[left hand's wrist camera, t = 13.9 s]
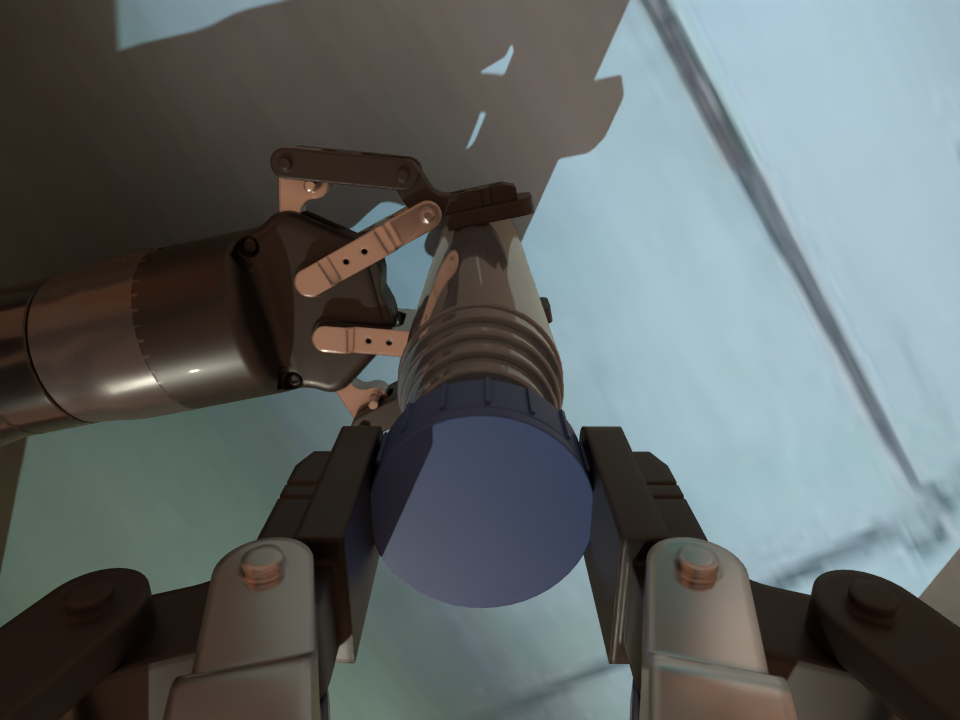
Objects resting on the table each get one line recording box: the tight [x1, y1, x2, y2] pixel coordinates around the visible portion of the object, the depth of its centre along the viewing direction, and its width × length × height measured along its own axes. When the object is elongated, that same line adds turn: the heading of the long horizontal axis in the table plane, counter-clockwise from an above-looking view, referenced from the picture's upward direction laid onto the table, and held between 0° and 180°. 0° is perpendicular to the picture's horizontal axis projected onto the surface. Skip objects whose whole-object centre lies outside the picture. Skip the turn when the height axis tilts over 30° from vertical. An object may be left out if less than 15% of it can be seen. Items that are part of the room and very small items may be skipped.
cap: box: [370, 377, 593, 608], centre depth 12 cm, size 4×4×2 cm
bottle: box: [397, 218, 564, 414], centre depth 23 cm, size 4×4×25 cm
